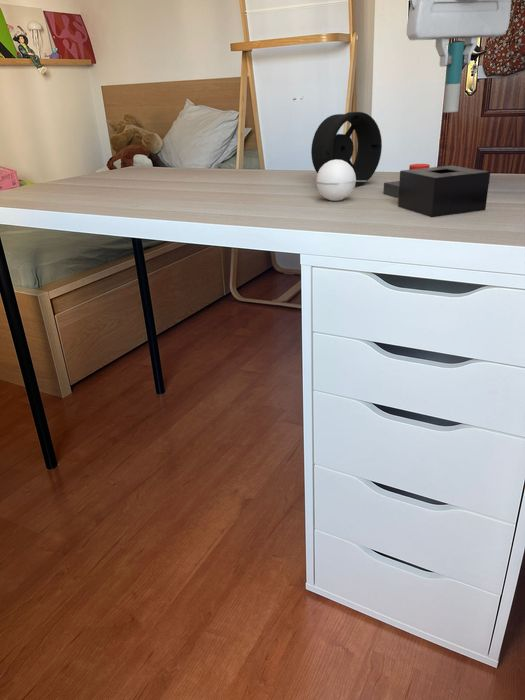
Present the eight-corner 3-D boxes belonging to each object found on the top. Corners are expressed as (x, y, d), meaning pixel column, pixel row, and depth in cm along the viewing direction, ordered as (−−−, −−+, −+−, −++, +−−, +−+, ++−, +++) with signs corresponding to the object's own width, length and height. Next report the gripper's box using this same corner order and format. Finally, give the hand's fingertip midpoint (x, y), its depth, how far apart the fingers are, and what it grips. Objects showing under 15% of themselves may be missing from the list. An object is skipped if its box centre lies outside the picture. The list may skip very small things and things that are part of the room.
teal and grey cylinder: (452, 111, 106) (458, 43, 101) (460, 111, 104) (467, 41, 99) (440, 112, 106) (445, 43, 100) (448, 112, 103) (454, 42, 98)
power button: (421, 172, 100) (422, 163, 100) (432, 175, 97) (433, 165, 97) (405, 174, 100) (405, 164, 99) (415, 176, 96) (416, 166, 96)
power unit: (428, 189, 105) (429, 168, 103) (452, 195, 98) (455, 172, 96) (383, 194, 102) (384, 172, 100) (405, 200, 95) (407, 177, 94)
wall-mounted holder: (349, 110, 116) (383, 109, 108) (348, 178, 122) (380, 182, 114) (298, 114, 108) (330, 114, 101) (300, 187, 115) (330, 192, 107)
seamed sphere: (307, 201, 99) (307, 160, 96) (335, 195, 103) (335, 156, 100) (347, 207, 92) (347, 163, 89) (374, 201, 96) (376, 158, 93)
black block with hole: (447, 200, 93) (451, 165, 91) (485, 210, 85) (490, 171, 82) (397, 207, 91) (399, 170, 88) (431, 217, 82) (435, 177, 80)
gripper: (422, -25, 90) (416, 67, 96) (520, -25, 95) (509, 62, 101) (402, -17, 95) (398, 69, 101) (496, -18, 101) (487, 64, 107)
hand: (454, 65), depth 101 cm, fingers closed on teal and grey cylinder, 3 cm apart
